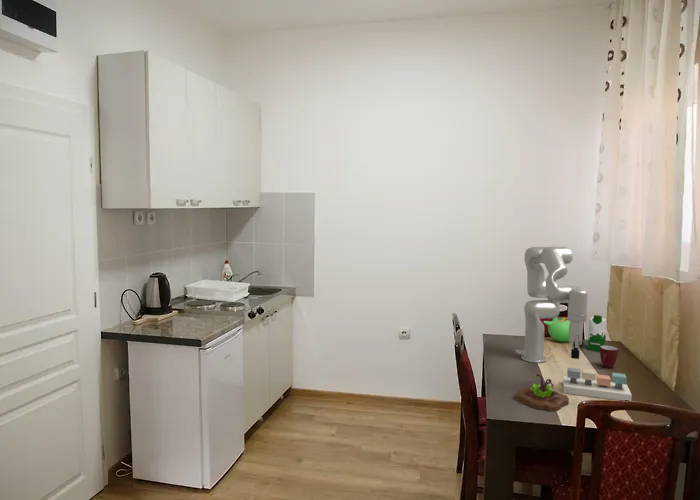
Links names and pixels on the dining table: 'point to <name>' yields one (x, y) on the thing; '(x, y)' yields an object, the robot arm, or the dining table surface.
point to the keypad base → (596, 390)
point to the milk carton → (596, 333)
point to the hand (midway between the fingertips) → (574, 358)
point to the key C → (603, 380)
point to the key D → (619, 380)
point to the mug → (608, 356)
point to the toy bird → (558, 328)
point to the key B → (588, 376)
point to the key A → (573, 374)
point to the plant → (542, 396)
